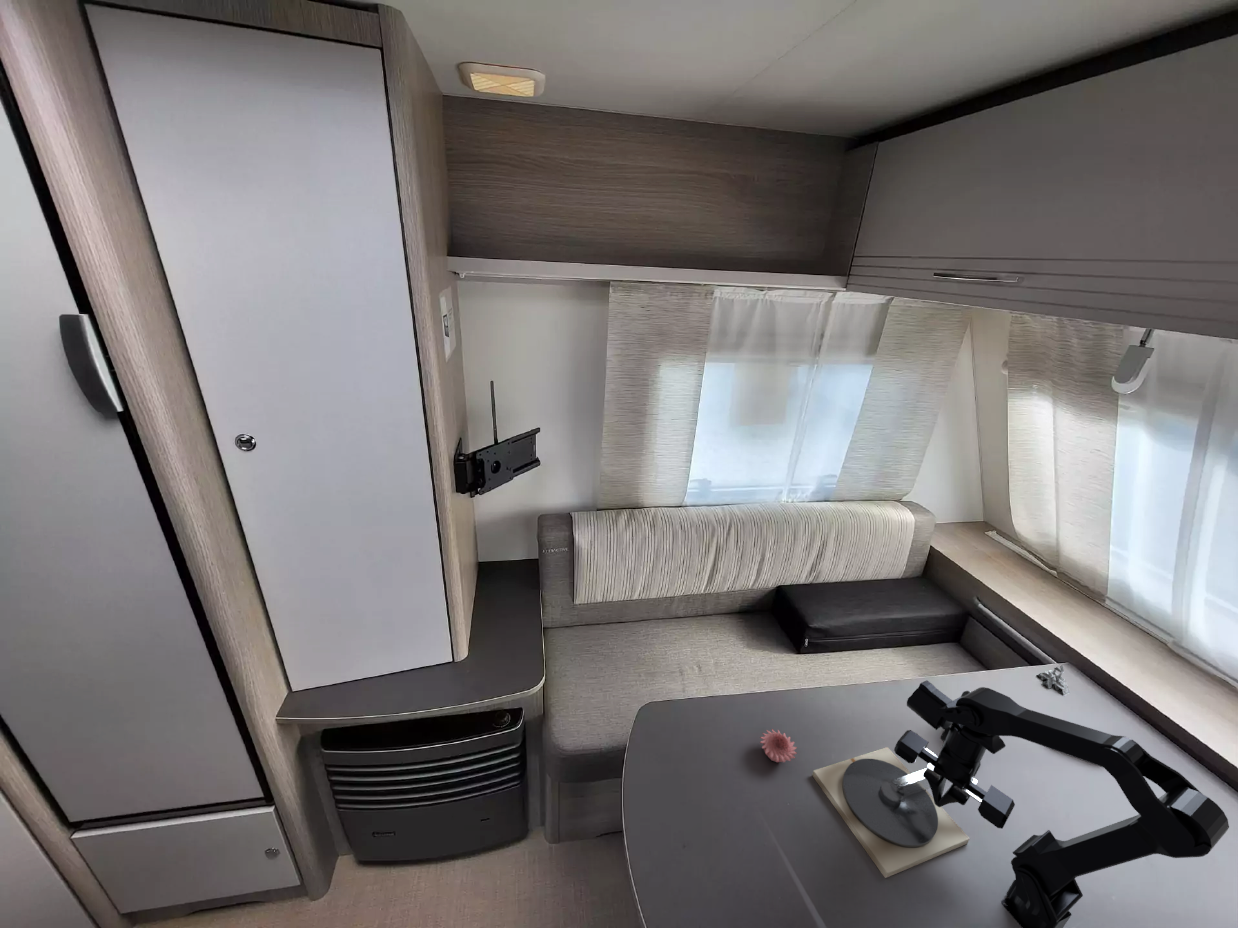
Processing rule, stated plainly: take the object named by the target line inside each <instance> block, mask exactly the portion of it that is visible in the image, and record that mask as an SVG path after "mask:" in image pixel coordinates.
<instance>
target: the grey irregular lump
mask: <svg viewBox="0 0 1238 928" xmlns="http://www.w3.org/2000/svg"><path fill="white" fill-rule="evenodd" d="M1056 672H1059V674H1058V673H1056ZM1063 673H1065V668H1064V665H1063V664H1062V665H1059V666H1056V667H1053V670H1052V669H1050V670H1046V671H1044V672H1041V673H1040V674H1039V675H1040V680H1041V681H1044V680H1046V681H1044V682H1042V683H1041V684H1042V685H1044V686H1046V687H1047V688H1048V689H1052V686H1053V685H1054V687H1055V691H1059V692H1058V693H1059V694H1060V695H1062V696H1063V697H1065V696H1068V695H1069V694H1071V692H1070V687H1069V685H1068V684H1067V680H1066V679H1065V678H1064V677H1062V675H1063ZM1060 690H1062V691H1061V692H1060Z"/></svg>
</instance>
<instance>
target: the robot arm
mask: <svg viewBox="0 0 1238 928" xmlns="http://www.w3.org/2000/svg"><path fill="white" fill-rule="evenodd" d="M906 706H907V707H908V708H909V709H910V710H911V711H912V712H914V713H915V714H916V715H917V716H919V717H920V718H921V719H922V720H923V721H925V723H927V724H928V725H929V726H930V727H932V729H934V730H935V731H937V730H938V729H940V728H942V729H943V731H942V734H941V735H940V737H939V738H940V740H941V741H943V742H944V743H943V745H942V747H941V749H940V751H939V754H938V755H937V754H936V753H934V752H933V751H931V750H930V749H928V748H927V747H928V746H929V743H930V742H929V741H928V740H926V739H925V738H923V737H922V736H920V735H919V734H917V733H916V732H915V731H914V730H912V729H909V730H908V729H907V730H906V731H904V733H903V734H902V736H901V737H900V738H899V739H898V740H897V742H896V743H895V746H894V749H893V751H894V754H895V755H897V756H899V757H900V758H901V759H902V760H904V761H905V762H907V763H908V764H915V763H916V762H917V758H920V759H921V760H922V761H924V762H925V763H926V764H927V765H926V768H927V769H926V768H925V769H926V770H925V772H924V773H923V776H924V778H925V779H927V780H928V783H929V785H930V788H929V789H930V791H931V794H932V797H933V798H934V803H935V805H937V806H938V807H942V808H943V807H944V806H946V805H949V804H954V803H958V804H960V805H962V806H965V805H966V804H967V802H968V801H969V799H970V798H973V799H974V800H975V801H976V802H979V806H978V808H977V811H978V813H979V814H980V816H981V817H982V818H983V819H985V820H986V821H987V822H989V823H990V824H991V825H993V826H994V827H996V828H997V829H1003V828H1004V826H1005V825H1006V823H1007V821H1008V819H1009V818H1010V816H1011V813H1012V811H1013V809H1014V808H1015V806H1016V804H1015V802H1014V799H1013V798H1011V797H1010V796H1009V795H1007V794H1006V793H1004V792H1003V791H1001V790H999V788H997V787H996V786H994V785H992V784H991V785H990V787H989V789H988V790H987V791H986V790H984V788H982V787H980V786H979V785H977V784H978V780H977V779H976V778H975V776H976V775H977V773H978V771H979V769H980V767H981V762H982V759H983V758H984V757H983V756H984V755H985V752H986V751H988V752H989V753H991V754H992V755H995V754H996V753H998V752H1000V751H1001V750H1003V749H1004V748H1005V747H1006V743H1005V742H1004V740H1003V739H1002V738H1001V737H1014V738H1018V739H1022V740H1025V741H1028V742H1031V743H1034V744H1036V745H1039V746H1042V747H1044V748H1047V749H1050V750H1052V751H1056V752H1059V753H1061V754H1064V755H1068V756H1070V757H1073V758H1076V759H1078V760H1082V761H1085V762H1087V763H1090V764H1093V765H1096V766H1099V767H1101V768H1103V769H1105V770H1106V772H1108V773H1109V775H1110V776H1111V777H1112V778H1113V779H1114V780H1115V781H1116V783H1117V785H1118V786H1119V788H1120V789H1121V791H1122V793H1123V794H1124V796H1125V798H1126V799H1127V800H1128V802H1129V804H1130V806H1131V807H1132V808H1133V810H1135V811H1136V812H1137V813H1138V814H1137V815H1134V816H1132V817H1129V818H1126V819H1123V820H1120V821H1117V822H1115V823H1112V824H1109V825H1106V826H1103V827H1101V828H1098V829H1095V830H1091V831H1089V832H1087V833H1086V832H1085V833H1084V834H1081V835H1078V836H1076V837H1073V838H1069V839H1068V840H1060V839H1057V838H1056V837H1055V836H1054V834H1053V833H1052V832H1051V831H1050V829H1047V830H1046V831H1045V832H1044V833H1043V834H1039V835H1036V834H1033V835H1031V836H1030V837H1028V839H1026V840H1025V841H1024V842H1023V843H1022V844H1020V846H1018V847H1017V848H1015V850H1014V851H1012V854H1013V855H1014V856H1015V857H1013V858H1012V859H1011V861H1010V864H1011V867H1012V870H1013V873H1014V876H1015V879H1014V880H1013V881H1012V883H1011V884H1010V886H1009V888H1008V889H1007V891H1006V893H1005V894H1006V896H1007V897H1006V898H1004V899H1002V900H1001V905H1002V906H1003V908H1005V910H1006V911H1007V913H1009V914H1010V915H1011V916H1012V918H1013V919H1014V920H1015V921H1016V922H1017V923H1018V925H1019V926H1020V927H1021V928H1064V927H1065V926H1066V924H1067V922H1068V921H1069V919H1071V916H1072V912H1070V910H1071V909H1072V908H1073V907H1074V906H1075V905H1076V904H1077V902H1079V900H1080V899H1082V897H1083V896H1084V895H1083V892H1082V890H1081V889H1080V886H1079V884H1078V883H1077V880H1076V878H1078V877H1081V876H1085V875H1086V874H1087V875H1088V874H1091V873H1095V872H1097V871H1101V870H1105V869H1107V868H1112V867H1114V866H1118V865H1122V864H1125V863H1128V862H1133V861H1135V860H1139V859H1142V858H1145V857H1149V856H1152V855H1160V856H1164V857H1169V858H1173V859H1183V858H1187V859H1189V858H1201V857H1204V856H1206V855H1208V854H1209V853H1210V852H1211V851H1212V849H1214V847H1215V846H1216V845H1217V844H1218V842H1219V841H1221V839H1222V838H1223V836H1224V835H1225V834H1226V832H1227V831H1228V830H1229V829H1230V825H1229V819H1228V817H1227V815H1226V814H1225V812H1224V811H1223V809H1222V808H1221V807H1220V806H1219V805H1218V803H1217V802H1215V801H1213V800H1212V799H1211V798H1210V797H1208V796H1207V795H1205V794H1204V793H1203V792H1201V791H1200V790H1199V789H1198V788H1197V787H1195V786H1194V784H1192V783H1191V782H1190V781H1189V780H1188V779H1187V778H1186V777H1185V776H1183V774H1181V773H1180V772H1179V771H1177V770H1175V769H1173V768H1172V767H1170V766H1169V765H1167V764H1166V763H1164V762H1162V761H1160V760H1159V759H1157V758H1155V757H1154V756H1152V755H1151V754H1150V753H1149V752H1147V750H1145V749H1144V748H1143V747H1142V746H1141V745H1140V744H1139V743H1138V742H1136V741H1135V740H1134V739H1132V738H1130V737H1127V736H1125V735H1114V734H1110V733H1107V732H1103V731H1101V730H1097V729H1094V728H1091V727H1088V726H1085V725H1081V724H1078V723H1074V722H1071V721H1067V720H1065V719H1061V718H1057V717H1055V716H1051V715H1048V714H1044V713H1042V712H1038V711H1035V710H1032V709H1028V708H1026V707H1024V706H1022V705H1020V704H1018V703H1017V702H1016V701H1014V700H1013V699H1012V697H1009V696H1008V695H1005V694H1004V693H1000V692H998V691H997V690H994V689H992V688H989V687H984V686H981V687H978V688H975V689H974V690H972V692H970V693H969V694H967V695H965V696H962V697H961V696H959V697H957V698H956V699H951V698H950V697H948V696H947V695H946V694H945V693H943V692H942V691H941V690H939V689H938V688H937V687H936V686H935V685H934V684H933V683H931V681H929V680H925V681H923V682H921V683H919V685H918V687H917V688H916V689H915V690H914V691H913V693H912V694H911V695H910V696H909V697H908V698H907V700H906ZM952 723H953V724H952ZM1147 780H1149V781H1151V782H1153V784H1156V785H1157V786H1158V787H1159V788H1161V790H1163V792H1164V794H1162V795H1161V796H1160V797H1157V795H1156V793H1155V792H1154V790H1153V789H1152V787H1151V786H1150V784H1149V783H1148V781H1147ZM947 781H948V782H950V783H951V785H950V786H949V787H948V788H947V790H946V791H945V792H944V790H945V787H946V783H947ZM1004 903H1005V904H1006V905H1005V904H1004Z"/></svg>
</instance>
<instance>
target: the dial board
mask: <svg viewBox="0 0 1238 928" xmlns="http://www.w3.org/2000/svg"><path fill="white" fill-rule="evenodd" d="M860 759H877V760H881V761H885V762H887V763H890V764H892V765H894V766H896V767H898V768H900V769H901V770H903V771H905V772H906V773H907V774H912V773H911V771H910V770H909V769H907V767H906V766H905V765H904V763H903V762H902V761H901V760H900V759H899V758H898V757H897V756H896V754H895V753H893V751H892V750H891V749H890V748H889V747H888V746H886V747H883V748H880V749H877V750H874V751H871V752H868V753H864V754H861V755H857V756H855V757H852V758H849V759H846V760H843V761H839V762H837V763H833V764H830V765H827V766H824V767H820V768H816V769H814V770H812V771H813V772H812V775H811V776H812V777H813V779H814V780H815V782H816V783H817V785H818V786H819V787H820V789H821V790H822V792H823V793H824V794H825V796H826V797H827V799H828V801H830V803H831V804H832V805H833V807H834V809H835V810H836V811H837V813H838V814H839V815H840V817H841V818H842V820H843V821H844V823H845V824H846V825H847V827H848V828H849V829H850V831H851V832H852V833H853V835H854V836H855V839H857V840H858V842H859V843H860V845H861V846H862V847H863V849H864V850H865V851H866V853H867V855H868V856H869V857H870V859H871V860H872V861H873V864H874V865H875V866H876V867H877V869H878V870H879V872H880V873H881V875H882V876H883V877H884V879H887V878H889V877H892V876H895V875H896V874H898V873H901V872H903V871H906V870H908V869H911V868H913V867H915V866H918V865H921V864H923V863H924V862H927V861H930V860H932V859H935V858H937V857H939V856H942V855H943V854H945V853H946V854H947V853H948V852H951V851H953V850H955V849H958V848H961V847H962V846H965V845H967V844H968V843H969V841H970V839H971V838H970V837H969V835H967V834H966V832H965V831H963V829H962V828H961V827H960V826H959V825H958V823H956V821H955V820H954V819H953V818H952V817H951V816H950V814H948V812H947V811H946V810H945V809H944V808H943V806H942V807H938V806H937V805H935V803H934V798H933V795H931V793H930V792H929V791H928V789H926V790H925V791H926V792H927V794H928V795H929V797H930V798H931V800H932V802H933V804H934V806H935V808H936V812H937V816H938V828H937V831H936V833H935V835H934V837H933V839H932V840H931V841H930V842H929V843H928V844H926V845H925V846H922V847H919V848H905V847H900V846H896V845H893V844H891V843H889V842H886V841H884V840H883V839H881V838H879V837H878V836H876V835H874V834H873V833H872V832H871V831H869V830H868V829H867V828H866V827H865V826H864V825H863V824H862V823H861V822H860V821H859V820H858V819H857V818H856V817H855V815H854V814H853V813H852V811H851V810H850V808H849V806H848V804H847V802H846V800H845V797H844V794H843V789H842V781H843V777H844V774H845V771H846V769H847V767H848V766H849V765H850V764H851V763H853V762H855V761H857V760H860Z"/></svg>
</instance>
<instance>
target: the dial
mask: <svg viewBox="0 0 1238 928" xmlns="http://www.w3.org/2000/svg"><path fill="white" fill-rule="evenodd" d="M926 769H927V767H926V768H924V769H920V770H918V771H915V772H912V773H911V774H907V773H906V772H905V771H903V770H901V769H900V768H898V767H896V766H894V765H892V764H890V763H887V762H885V761H881V760H877V759H860V760H857V761H855V762H853V763H851V764H850V765H849V766H848V767H847V769H846V771H845V774H844V777H843V781H842V789H843V794H844V797H845V800H846V802H847V804H848V806H849V808H850V810H851V811H852V813H853V814H854V815H855V817H856V818H857V819H858V820H859V821H860V822H861V823H862V824H863V825H864V826H865V827H866V828H867V829H868V830H869V831H871V832H872V833H873V834H874V835H876V836H878V837H879V838H881V839H883V840H884V841H886V842H889V843H891V844H893V845H896V846H900V847H905V848H919V847H922V846H925V845H926V844H928V843H929V842H930V841H931V840H932V839H933V837H934V835H935V833H936V831H937V828H938V816H937V812H936V808H935V806H934V804H933V802H932V800H931V798H930V797H929V795H928V794H927V792H926V791H925V790H928V789H931V788H930V785H929V783H928V780H927V779H925V778H924V776H923V773H924V772H925V770H926Z"/></svg>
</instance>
